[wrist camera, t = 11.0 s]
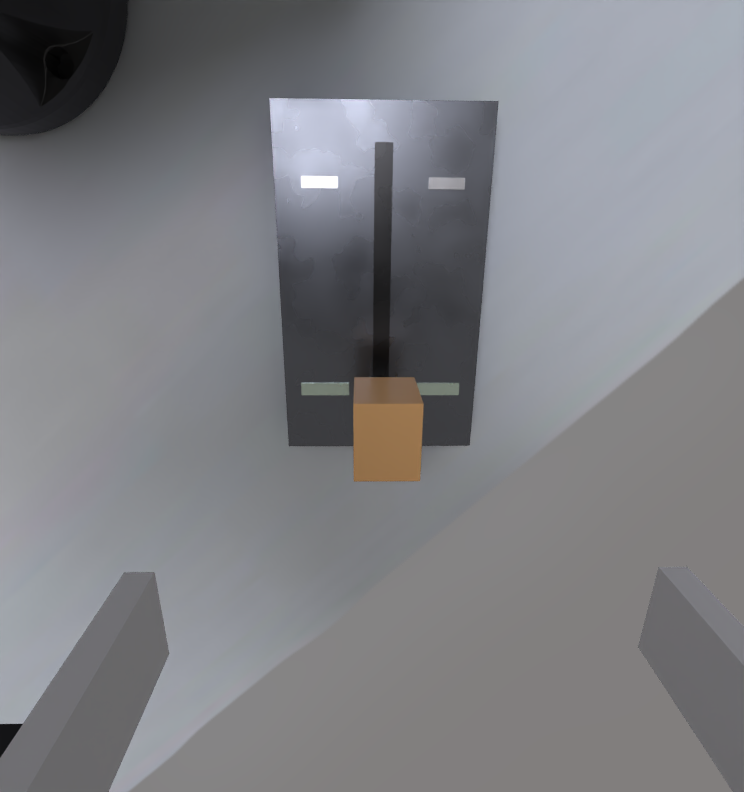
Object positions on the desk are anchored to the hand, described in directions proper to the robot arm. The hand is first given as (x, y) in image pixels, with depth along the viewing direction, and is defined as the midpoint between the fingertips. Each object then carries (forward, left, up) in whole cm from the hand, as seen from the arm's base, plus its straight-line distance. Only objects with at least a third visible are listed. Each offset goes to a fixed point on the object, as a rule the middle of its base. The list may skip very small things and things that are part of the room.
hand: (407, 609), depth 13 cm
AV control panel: (-6, 0, -21) cm, 22 cm away
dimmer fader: (0, 0, -18) cm, 18 cm away
